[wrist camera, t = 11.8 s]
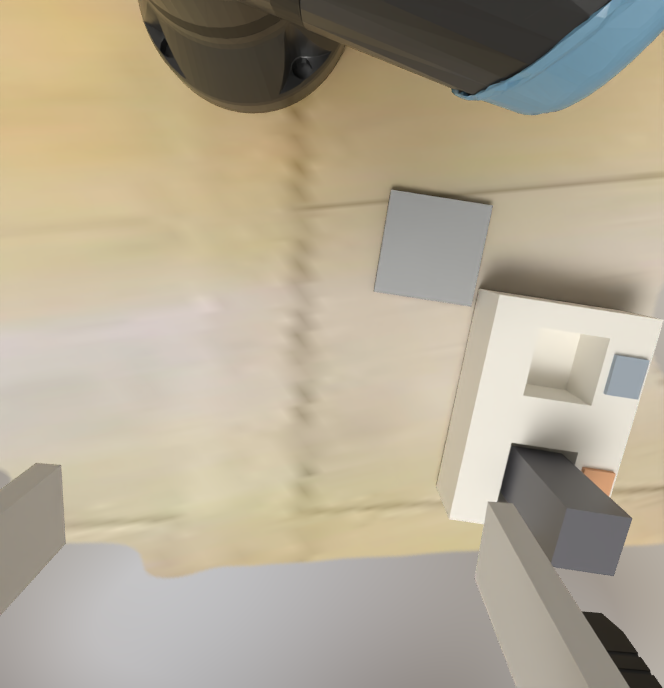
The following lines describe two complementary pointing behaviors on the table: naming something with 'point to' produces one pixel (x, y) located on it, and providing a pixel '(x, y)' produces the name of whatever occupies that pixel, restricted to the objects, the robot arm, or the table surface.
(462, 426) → the socket block
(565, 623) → the robot arm
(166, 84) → the table surface
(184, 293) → the table surface
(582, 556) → the grey tall block
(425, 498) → the table surface
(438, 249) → the mat
